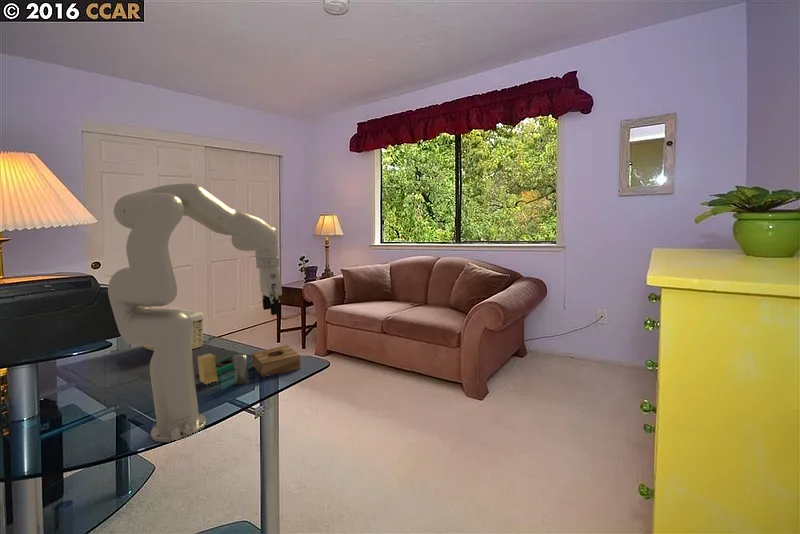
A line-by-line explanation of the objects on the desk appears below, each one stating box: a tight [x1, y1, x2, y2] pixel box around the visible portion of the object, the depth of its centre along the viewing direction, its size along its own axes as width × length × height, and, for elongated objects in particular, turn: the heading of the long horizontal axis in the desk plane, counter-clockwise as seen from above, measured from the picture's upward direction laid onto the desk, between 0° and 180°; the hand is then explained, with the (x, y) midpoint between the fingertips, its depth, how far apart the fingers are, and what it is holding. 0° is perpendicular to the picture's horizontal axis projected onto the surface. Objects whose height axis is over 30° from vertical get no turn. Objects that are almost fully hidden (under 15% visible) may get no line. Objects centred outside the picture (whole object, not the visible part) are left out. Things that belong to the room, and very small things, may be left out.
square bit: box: [196, 353, 218, 384], centre depth 134 cm, size 4×4×9 cm
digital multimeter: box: [216, 354, 249, 375], centre depth 147 cm, size 7×15×3 cm, turn 150°
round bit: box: [232, 353, 250, 386], centre depth 133 cm, size 4×4×9 cm
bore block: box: [251, 344, 301, 378], centre depth 145 cm, size 13×13×5 cm
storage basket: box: [143, 307, 205, 352], centre depth 172 cm, size 24×16×15 cm
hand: (271, 311), depth 143 cm, fingers open, 9 cm apart
